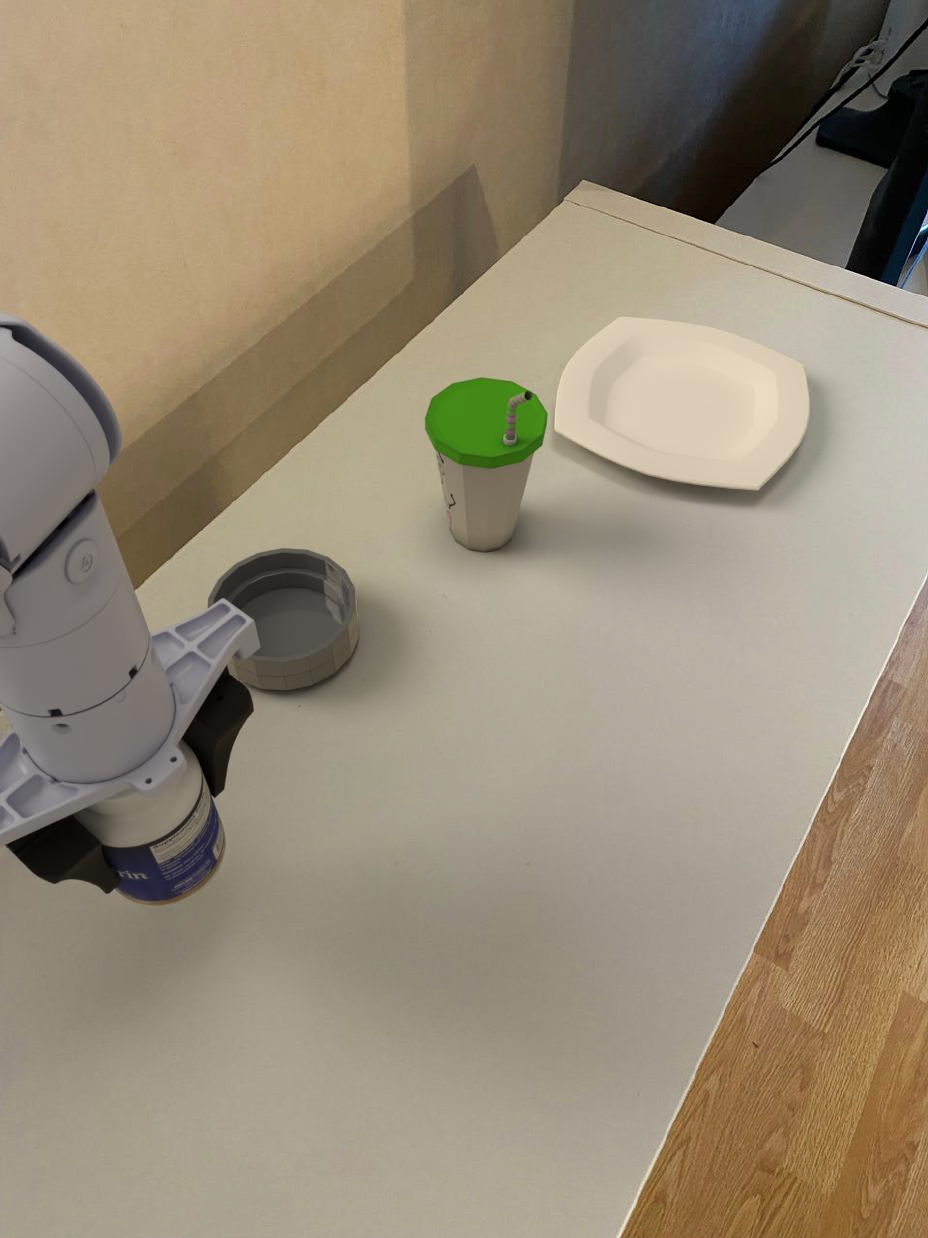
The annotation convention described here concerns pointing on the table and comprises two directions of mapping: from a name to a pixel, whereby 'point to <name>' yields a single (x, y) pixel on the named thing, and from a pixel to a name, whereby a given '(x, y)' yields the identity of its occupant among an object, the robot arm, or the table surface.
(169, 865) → the pill bottle
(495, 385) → the cup
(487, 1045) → the table surface
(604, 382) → the plate
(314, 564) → the bowl
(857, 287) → the table surface
